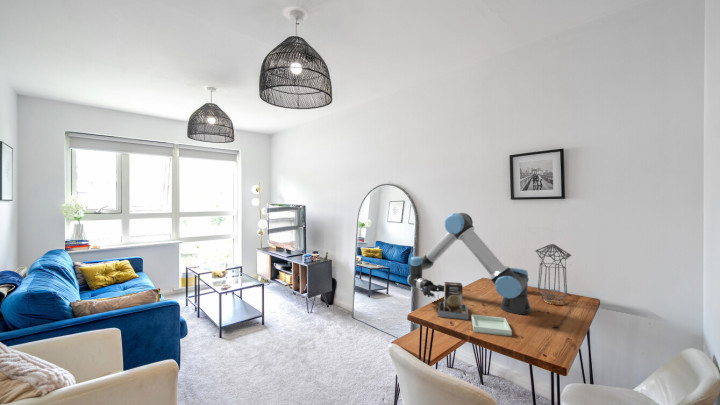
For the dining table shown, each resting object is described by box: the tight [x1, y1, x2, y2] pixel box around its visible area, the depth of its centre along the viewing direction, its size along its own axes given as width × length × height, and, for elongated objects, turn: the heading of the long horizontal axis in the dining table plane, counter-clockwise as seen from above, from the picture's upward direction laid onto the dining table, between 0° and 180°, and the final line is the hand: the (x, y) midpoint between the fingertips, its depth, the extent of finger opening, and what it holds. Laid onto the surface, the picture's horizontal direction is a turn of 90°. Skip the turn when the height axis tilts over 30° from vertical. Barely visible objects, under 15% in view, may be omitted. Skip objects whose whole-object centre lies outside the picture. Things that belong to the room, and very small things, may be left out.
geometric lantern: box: [534, 243, 572, 301], centre depth 191 cm, size 16×16×35 cm
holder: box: [437, 301, 469, 321], centre depth 167 cm, size 15×15×3 cm
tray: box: [470, 314, 513, 337], centre depth 148 cm, size 16×16×2 cm
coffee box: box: [443, 281, 464, 313], centre depth 167 cm, size 9×6×16 cm
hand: (448, 295), depth 169 cm, fingers open, 13 cm apart
